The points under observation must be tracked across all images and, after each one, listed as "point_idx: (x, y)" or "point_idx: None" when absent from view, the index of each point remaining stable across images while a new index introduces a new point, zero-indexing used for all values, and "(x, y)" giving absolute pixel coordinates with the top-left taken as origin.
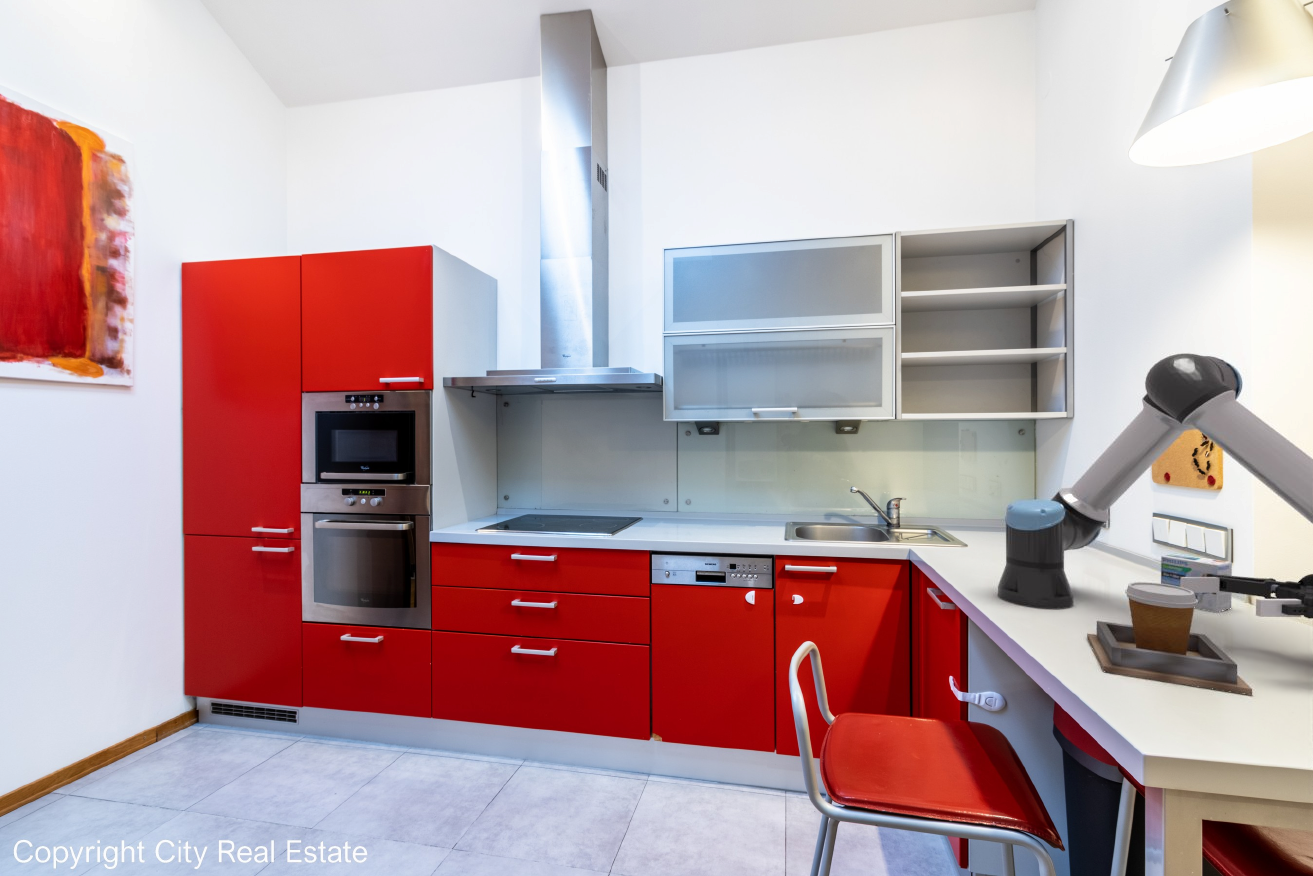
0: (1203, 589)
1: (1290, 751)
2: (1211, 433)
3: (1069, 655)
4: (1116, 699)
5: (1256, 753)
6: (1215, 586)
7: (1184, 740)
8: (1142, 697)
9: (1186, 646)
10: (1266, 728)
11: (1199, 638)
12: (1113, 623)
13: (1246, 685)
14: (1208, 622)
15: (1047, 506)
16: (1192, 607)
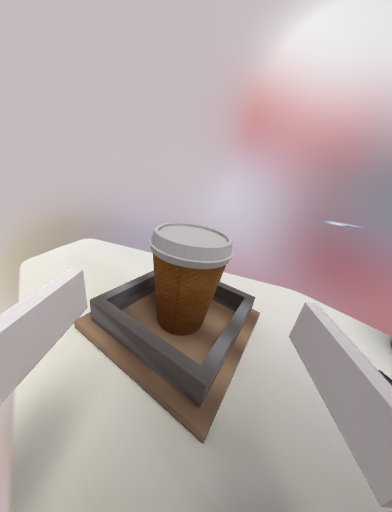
0: (330, 393)
1: (27, 267)
2: None
3: None
4: (131, 256)
5: (46, 256)
6: (379, 454)
7: (81, 248)
8: (126, 265)
9: (157, 304)
10: (47, 281)
11: (190, 360)
12: (248, 304)
13: (82, 324)
14: None
15: None
16: (151, 249)
